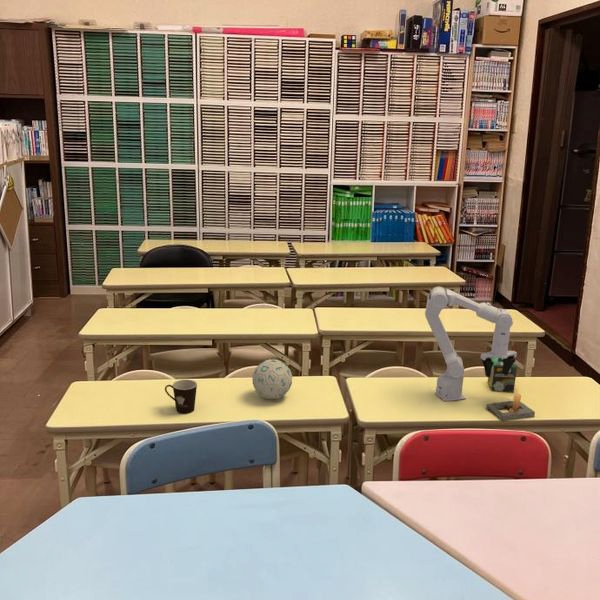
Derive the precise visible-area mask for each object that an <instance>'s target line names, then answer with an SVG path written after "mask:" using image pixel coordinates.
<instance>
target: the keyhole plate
mask: <svg viewBox="0 0 600 600" xmlns="http://www.w3.org/2000/svg"><path fill="white" fill-rule="evenodd" d="M511 407H513V400H511V401H509V400H508V401H502V402H501V401H500V402H492V403H486V405H485V410H487V411H492V412H493V413H495V414H496V415H498V416H499V417H498V420H500V421H501V422H505V421H510V420H520V419H521V420H522V419H527V418H534V417H535V414H536V411H535V410H533V409H532V408H530V407H529V406H527V405H526V404H525V403H523V402H521V401H520V407H519V409H517V410H514V412H509V411H507V412H502V411H501V410H503V409H504V410H505V409H509V408H511Z"/></svg>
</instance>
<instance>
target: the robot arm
mask: <svg viewBox="0 0 600 600" xmlns="http://www.w3.org/2000/svg"><path fill="white" fill-rule="evenodd" d="M447 305H448V307H453V306H456V305H457V306H459V307H462V308H464V309H467V310H470V311H473V312H475V314H476V317H478V318H481V319H483V320H485V321H487V322H490V323H492V324H495V326H494V331H493V335H492V336H493V337H492V344H491V351H487V352H483V353H480V360H481V362H482V365H483V369H484V375H485V376H486V377H487V378H488V377H490V375H491V369H492V366H493V364H494V362H492V360H491V359H494V358H503V371H502V372H503V374H504V375H505V376H507V374H508V372H509V370H510V368H511V366H512V365H513V363H514V362H515V363H516V360H517V359H516V358H517V353H518V352H516V351H515V350H509V344H510V337H511V328H512V326H513V324H514V321H513V318H512V315H511V313H509V311H507V310H506V309H503V308H501V307H500V308H498V307H495V306H493V305H492V304H491V302H488V301H487V302H480V303H478V302H476V301H474V300H472V299H470V298H468V297H466V296H464V295H461V294H460V293H458V292H455V291H453V290H451V289H449V288H444V287H443V286H435V287H433V288H432V289H431V290H430V292H429V293H428V295H427V302H426V305H425V306H426V307H425V312H424V315H425V319H426V321H427V323H428V325H429V328H430V329H431V332H432V334H433V336H434V338H435V340H436V343H437V345H438V347H439V349H440V352H441V354H442V355H443V358H444V361H445V364H446V368H447V369H445V372H444V374H442V375H439V376H438V377H437V379H436V389H435V391H434V393H435V394H436V396H438V397H439V398H440V399H441V400H442V401H444V402H451V401H457V400H458V401H459V400H466V399H467V397H466V396H465V395H463V385H464V378H465V377H464V376H465V367H464V365H463V359H462V357H461V356H459V355H458V354H457V351H456V350H455V349H454V346H453V343H452V342H451V340H450V338H449V335H448V333H447V331H446V329H445V326H444V324H443V322H442V320H441V318H440V314H441V312H442V311H443V310H444V309H445V308H446V307H447Z"/></svg>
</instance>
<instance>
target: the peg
mask: <svg viewBox="0 0 600 600" xmlns="http://www.w3.org/2000/svg"><path fill="white" fill-rule="evenodd" d="M521 398H522V394H520V393H514V396H513V400H512V401H513V407H511V408H508V409H509V410H508V412H514V410H517V409H520V408H519V407H520V402H521Z"/></svg>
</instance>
